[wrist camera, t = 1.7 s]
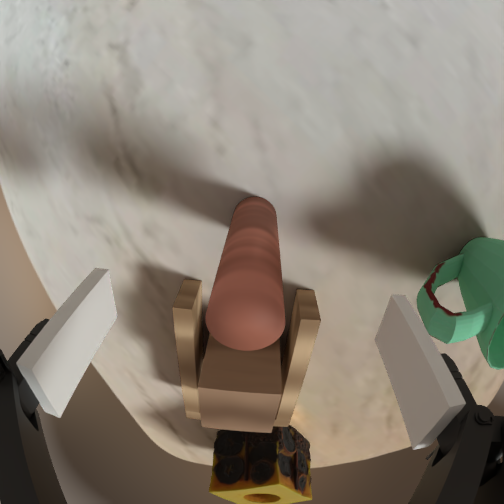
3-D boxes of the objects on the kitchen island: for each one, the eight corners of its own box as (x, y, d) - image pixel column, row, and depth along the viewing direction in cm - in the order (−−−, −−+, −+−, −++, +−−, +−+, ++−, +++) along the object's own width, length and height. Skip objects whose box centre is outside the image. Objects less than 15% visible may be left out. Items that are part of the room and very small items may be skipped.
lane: (184, 279, 25) (172, 307, 22) (314, 290, 25) (320, 320, 22) (192, 390, 32) (186, 417, 29) (286, 398, 32) (288, 426, 29)
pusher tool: (215, 193, 22) (168, 281, 11) (297, 200, 22) (326, 295, 11) (213, 362, 30) (194, 465, 19) (271, 367, 30) (270, 472, 19)
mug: (516, 213, 21) (581, 260, 12) (492, 296, 25) (539, 355, 16) (397, 210, 22) (463, 275, 13) (381, 311, 26) (416, 394, 17)
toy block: (279, 412, 34) (280, 483, 25) (311, 441, 38) (316, 499, 29) (214, 430, 37) (205, 491, 28) (252, 455, 40) (250, 509, 31)
